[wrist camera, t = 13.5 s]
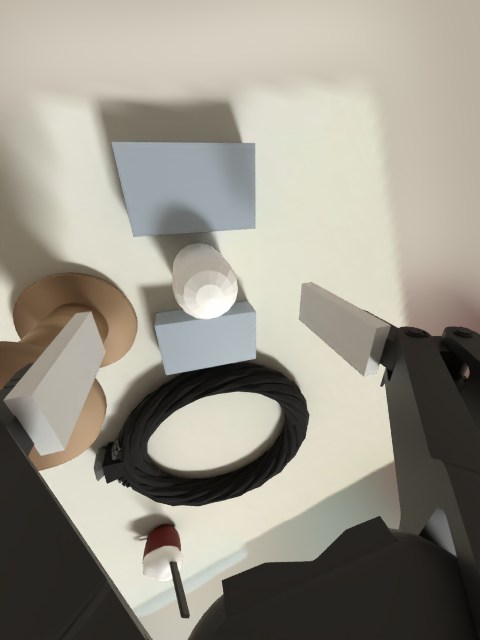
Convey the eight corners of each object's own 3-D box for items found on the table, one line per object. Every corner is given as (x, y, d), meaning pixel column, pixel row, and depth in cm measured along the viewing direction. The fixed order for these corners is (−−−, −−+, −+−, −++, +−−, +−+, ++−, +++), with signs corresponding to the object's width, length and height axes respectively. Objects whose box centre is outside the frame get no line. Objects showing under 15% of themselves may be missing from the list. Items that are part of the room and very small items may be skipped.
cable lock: (295, 488, 42) (111, 535, 34) (286, 468, 45) (116, 505, 38) (335, 365, 30) (65, 392, 22) (318, 348, 33) (78, 367, 26)
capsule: (160, 270, 23) (155, 301, 16) (198, 230, 22) (210, 244, 15) (200, 304, 25) (210, 343, 19) (235, 269, 25) (259, 296, 18)
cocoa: (148, 542, 45) (138, 647, 35) (133, 531, 42) (117, 643, 31) (195, 525, 46) (200, 622, 35) (184, 512, 42) (185, 616, 32)
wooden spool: (46, 371, 24) (-47, 497, 14) (-3, 279, 20) (-196, 365, 9) (146, 354, 26) (129, 453, 16) (123, 267, 22) (78, 328, 12)
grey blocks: (166, 358, 27) (165, 375, 25) (120, 150, 18) (111, 141, 16) (248, 344, 29) (255, 358, 27) (244, 150, 20) (255, 143, 18)
